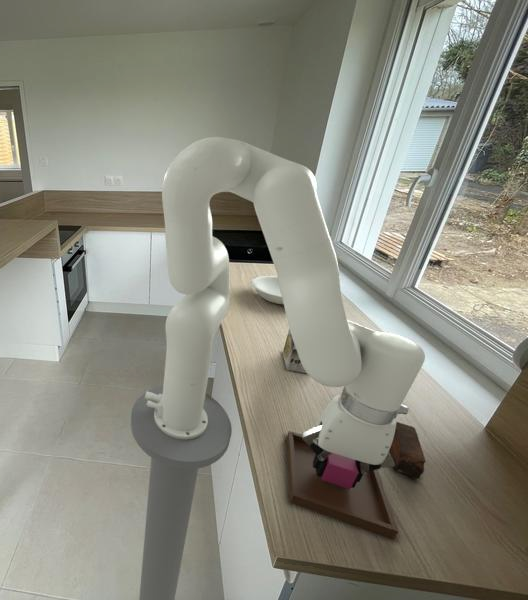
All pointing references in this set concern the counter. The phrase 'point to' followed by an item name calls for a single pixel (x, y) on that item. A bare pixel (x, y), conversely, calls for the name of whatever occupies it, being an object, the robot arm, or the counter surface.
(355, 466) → the mulberry cube
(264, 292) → the soup bowl
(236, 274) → the counter surface
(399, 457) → the brick
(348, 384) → the robot arm
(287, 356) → the coffee box
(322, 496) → the tray
